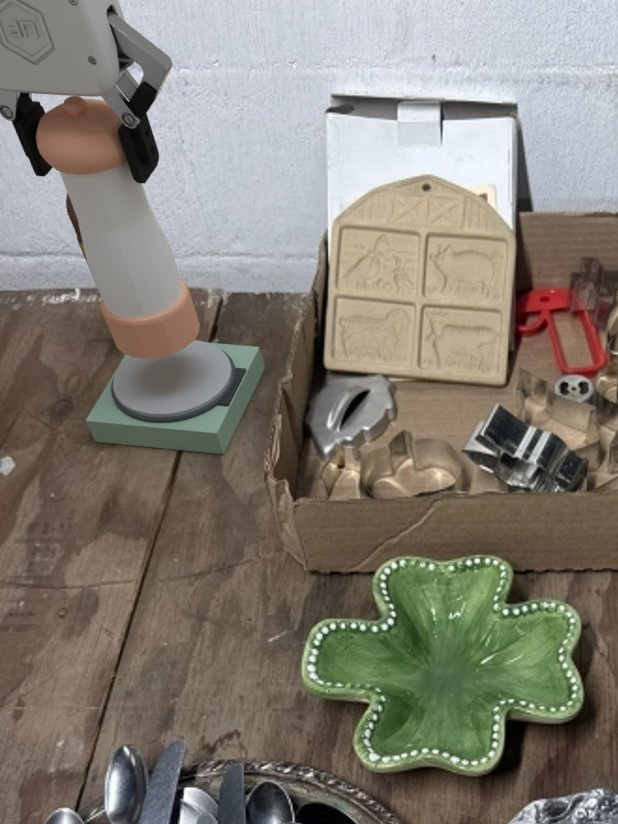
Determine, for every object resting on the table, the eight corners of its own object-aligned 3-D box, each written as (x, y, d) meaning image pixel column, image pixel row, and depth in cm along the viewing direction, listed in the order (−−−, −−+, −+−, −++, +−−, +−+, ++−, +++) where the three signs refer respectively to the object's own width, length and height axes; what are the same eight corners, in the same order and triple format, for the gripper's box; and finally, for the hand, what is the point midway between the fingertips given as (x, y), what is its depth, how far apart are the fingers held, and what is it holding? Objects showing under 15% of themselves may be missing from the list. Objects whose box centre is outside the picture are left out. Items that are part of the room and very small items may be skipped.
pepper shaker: (171, 366, 89) (86, 131, 73) (97, 349, 90) (-2, 114, 75) (215, 316, 93) (144, 82, 77) (143, 300, 94) (59, 67, 79)
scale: (95, 442, 95) (81, 413, 92) (144, 357, 102) (133, 328, 99) (224, 454, 94) (214, 425, 91) (265, 368, 100) (257, 339, 98)
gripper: (-169, -99, 64) (-33, 189, 79) (104, -88, 62) (191, 205, 77) (-107, -145, 68) (11, 138, 83) (150, -135, 67) (225, 152, 81)
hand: (97, 168), depth 80 cm, fingers closed on pepper shaker, 7 cm apart
